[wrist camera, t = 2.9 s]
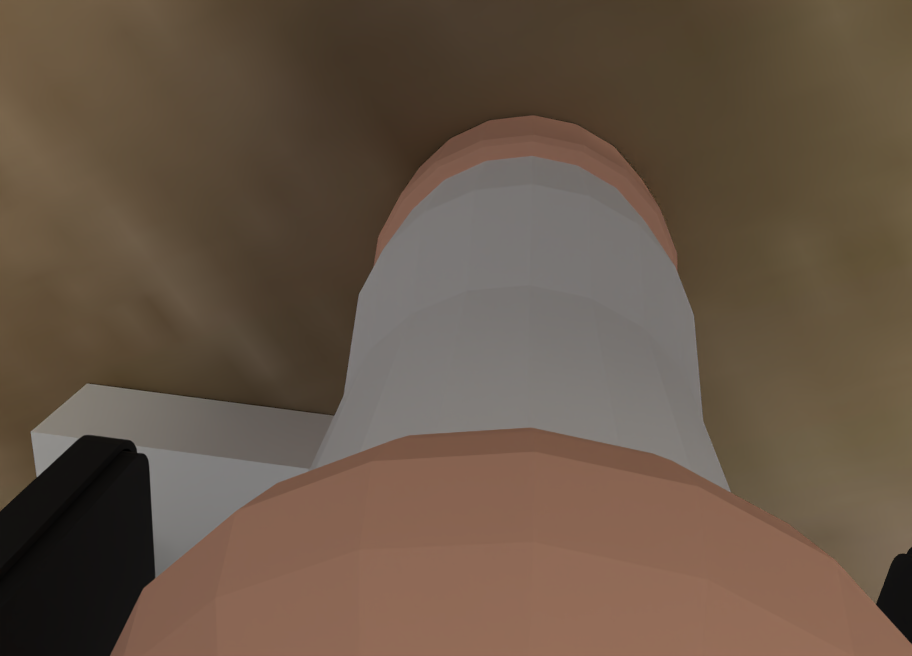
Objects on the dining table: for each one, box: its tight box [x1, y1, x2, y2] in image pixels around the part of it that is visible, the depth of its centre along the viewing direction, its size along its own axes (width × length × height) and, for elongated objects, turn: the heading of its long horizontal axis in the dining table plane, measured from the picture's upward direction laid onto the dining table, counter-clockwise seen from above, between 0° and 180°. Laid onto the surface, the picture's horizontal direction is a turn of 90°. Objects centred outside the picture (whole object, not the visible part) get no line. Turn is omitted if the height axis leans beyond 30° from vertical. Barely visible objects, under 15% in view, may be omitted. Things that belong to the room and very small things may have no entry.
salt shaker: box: [110, 115, 912, 656], centre depth 13 cm, size 7×7×19 cm
